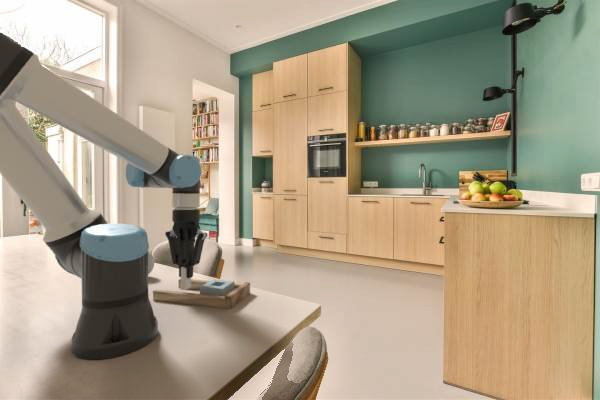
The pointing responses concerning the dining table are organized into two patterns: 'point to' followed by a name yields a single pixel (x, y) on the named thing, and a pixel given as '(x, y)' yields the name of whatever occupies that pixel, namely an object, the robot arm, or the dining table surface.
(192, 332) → the dining table surface
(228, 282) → the block
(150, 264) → the donut
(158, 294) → the track
